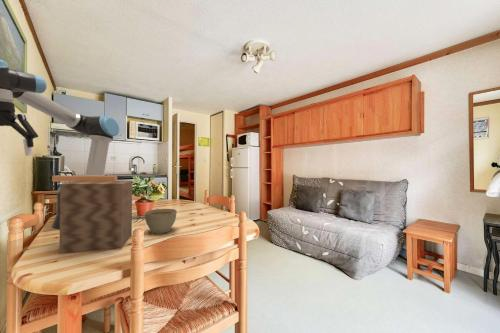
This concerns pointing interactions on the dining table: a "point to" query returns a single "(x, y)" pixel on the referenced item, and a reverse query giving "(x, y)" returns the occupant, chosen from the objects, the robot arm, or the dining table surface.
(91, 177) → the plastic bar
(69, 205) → the walnut stand
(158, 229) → the planter bowl
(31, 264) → the dining table surface
